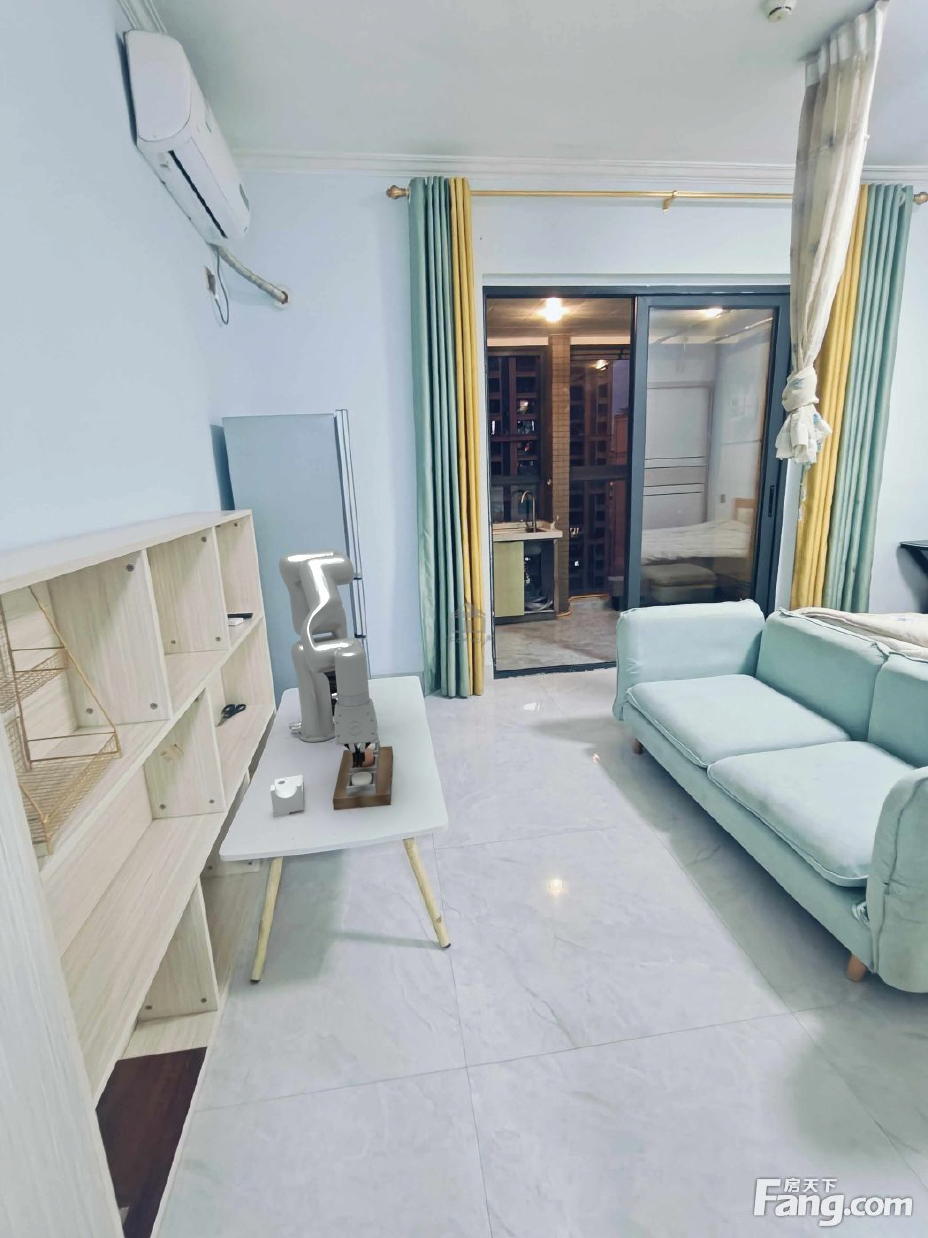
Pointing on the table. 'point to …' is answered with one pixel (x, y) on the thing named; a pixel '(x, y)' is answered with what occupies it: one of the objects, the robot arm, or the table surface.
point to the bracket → (287, 795)
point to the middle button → (368, 757)
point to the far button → (371, 746)
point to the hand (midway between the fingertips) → (359, 764)
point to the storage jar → (332, 687)
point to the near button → (361, 779)
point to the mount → (365, 794)
